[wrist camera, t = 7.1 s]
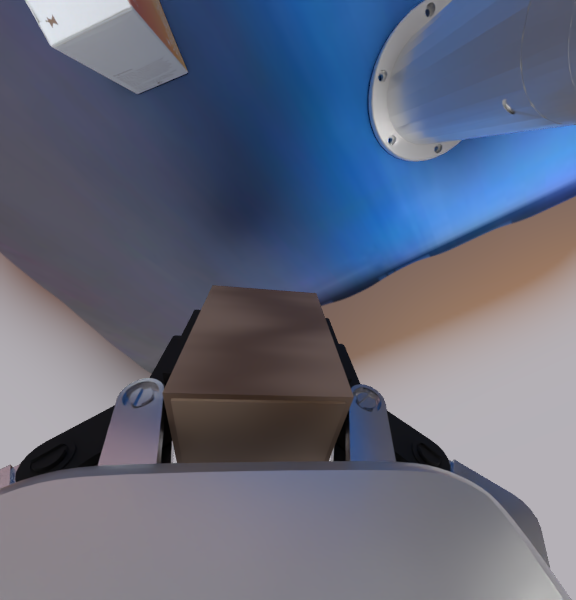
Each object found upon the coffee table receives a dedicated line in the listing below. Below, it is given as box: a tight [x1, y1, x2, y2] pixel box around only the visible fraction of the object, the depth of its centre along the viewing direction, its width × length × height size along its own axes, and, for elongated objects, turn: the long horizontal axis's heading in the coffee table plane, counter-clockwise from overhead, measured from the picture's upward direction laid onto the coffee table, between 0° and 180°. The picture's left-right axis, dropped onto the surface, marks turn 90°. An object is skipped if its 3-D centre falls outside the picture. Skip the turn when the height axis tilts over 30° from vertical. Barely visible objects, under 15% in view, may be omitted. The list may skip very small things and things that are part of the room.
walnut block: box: [162, 285, 354, 463], centre depth 10 cm, size 5×5×6 cm
